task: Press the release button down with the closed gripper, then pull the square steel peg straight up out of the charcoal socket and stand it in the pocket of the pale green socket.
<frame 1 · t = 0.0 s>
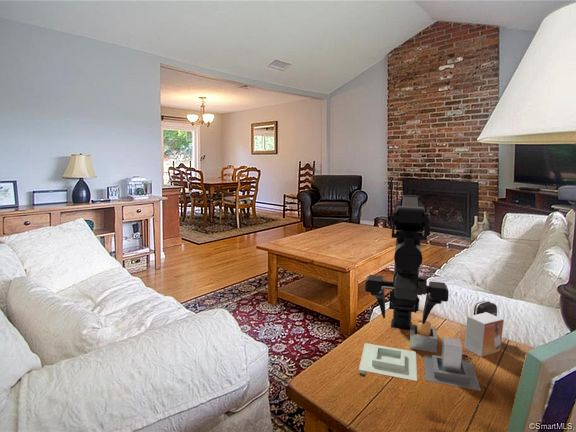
hand: (403, 320, 86), 15 cm above the table, tool pointing down, fingers open, 9 cm apart
release button: (423, 331, 101), point 5 cm above the table, slide at 0.0 cm
small box: (481, 353, 100), on the table
pale green socket: (388, 363, 94), on the table
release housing: (422, 347, 102), on the table
charcoal socket: (449, 374, 89), on the table
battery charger: (483, 339, 108), on the table
steel peg: (449, 371, 89), point 1 cm above the table, touching charcoal socket
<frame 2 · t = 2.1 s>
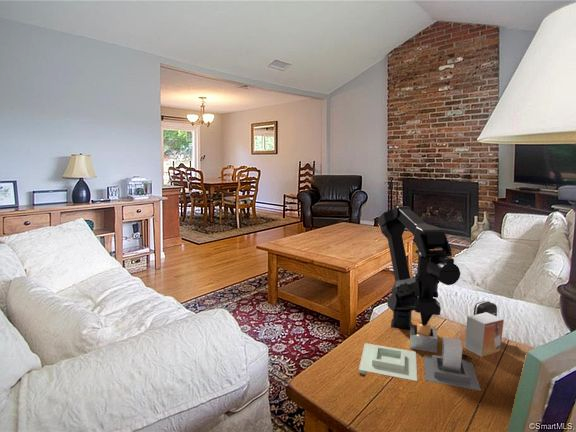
hand: (423, 324, 101), 7 cm above the table, tool pointing down, fingers closed, pressing on release button
release button: (423, 332, 101), point 5 cm above the table, slide at 0.5 cm, touching gripper
everything else where it was.
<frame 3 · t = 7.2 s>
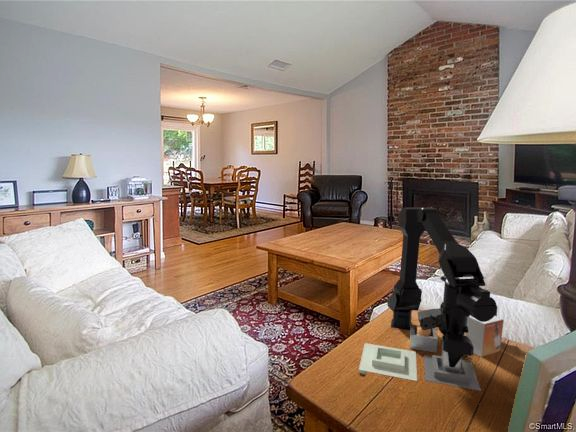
hand: (450, 362, 88), 4 cm above the table, tool pointing down, fingers closed on steel peg, 4 cm apart
release button: (423, 336, 102), point 4 cm above the table, slide at 1.5 cm
steel peg: (449, 371, 89), point 1 cm above the table, touching charcoal socket, gripper
everything else where it was.
when the fingers open (5 cm above the table, at t = 13.1 s): steel peg drops 1 cm, resting on pale green socket.
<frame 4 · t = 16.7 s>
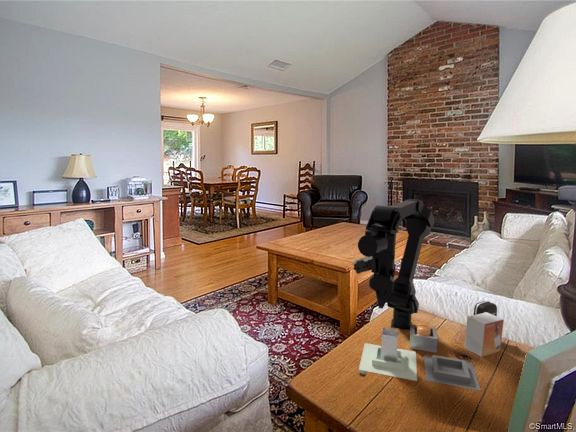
hand: (381, 302, 102), 13 cm above the table, tool pointing down, fingers open, 9 cm apart
steel peg: (388, 360, 94), point 1 cm above the table, touching pale green socket
everything else where it was.
at the end: steel peg 0.1 cm off-centre on the pale green socket, point 1.0 cm above the pale green socket's base; steel peg tilted 0°; release button slide at 1.5 cm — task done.
